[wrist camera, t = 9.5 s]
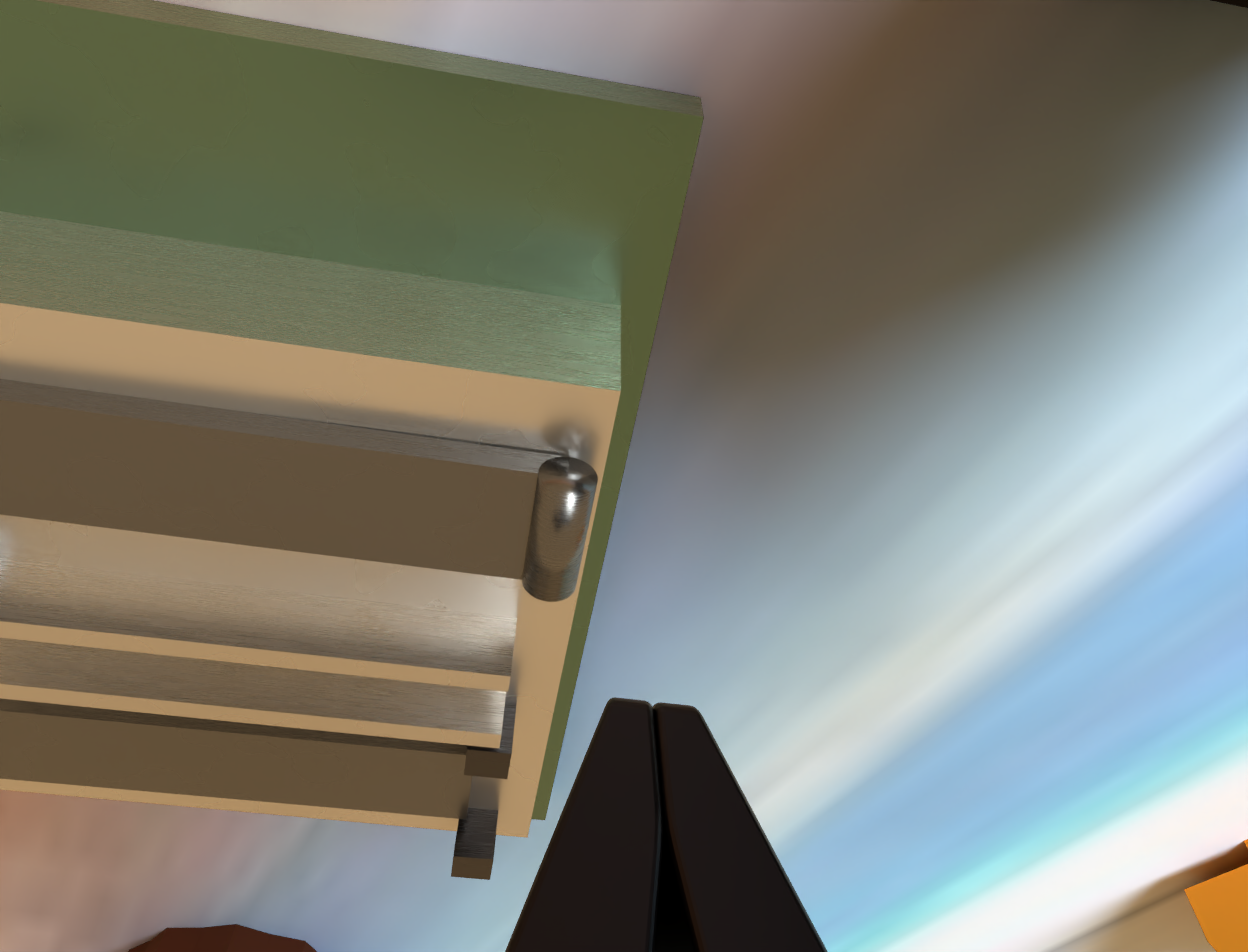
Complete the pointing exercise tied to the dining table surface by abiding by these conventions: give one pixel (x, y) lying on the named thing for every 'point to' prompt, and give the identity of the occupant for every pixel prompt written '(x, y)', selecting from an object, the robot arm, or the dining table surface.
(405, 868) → the dining table surface
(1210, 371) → the dining table surface
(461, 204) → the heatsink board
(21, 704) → the strap
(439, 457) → the strap
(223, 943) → the muffin
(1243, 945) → the bracket
